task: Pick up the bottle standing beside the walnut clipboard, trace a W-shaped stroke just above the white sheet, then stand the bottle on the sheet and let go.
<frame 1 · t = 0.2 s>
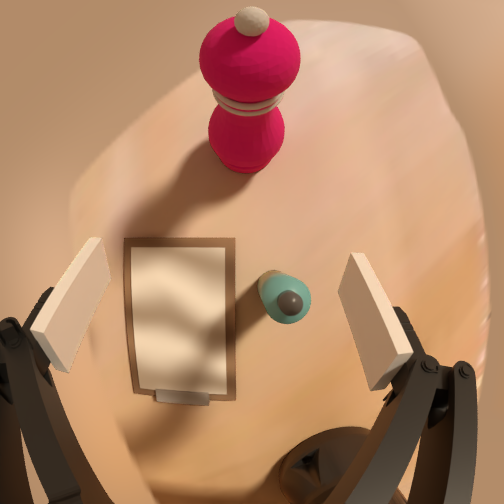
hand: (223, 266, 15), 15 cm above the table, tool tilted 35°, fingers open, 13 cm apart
pepper mill: (245, 147, 30), on the table
clipboard: (179, 322, 30), on the table
bottle: (273, 286, 30), on the table
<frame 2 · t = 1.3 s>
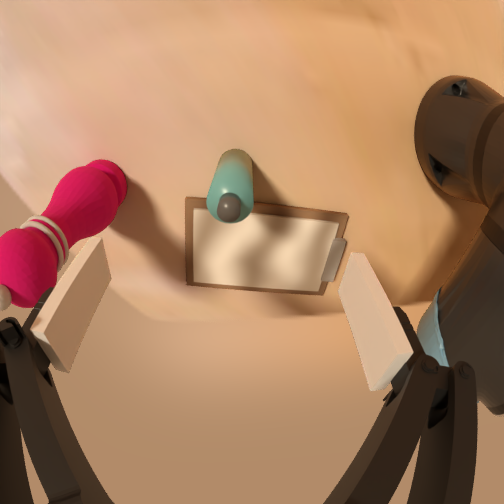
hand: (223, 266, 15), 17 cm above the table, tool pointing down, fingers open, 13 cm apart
pepper mill: (104, 184, 29), on the table
clipboard: (262, 249, 34), on the table
bottle: (235, 164, 28), on the table
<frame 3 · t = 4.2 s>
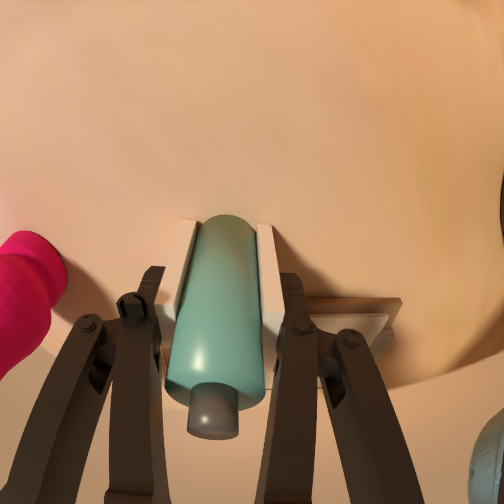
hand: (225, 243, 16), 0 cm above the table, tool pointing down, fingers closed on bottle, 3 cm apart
pepper mill: (37, 262, 17), on the table
clipboard: (274, 349, 22), on the table
bottle: (226, 241, 17), on the table, touching gripper
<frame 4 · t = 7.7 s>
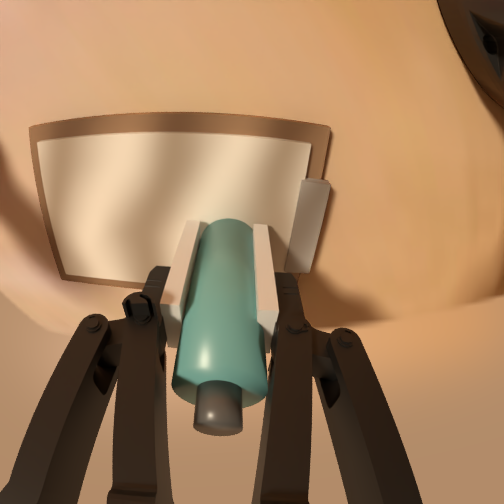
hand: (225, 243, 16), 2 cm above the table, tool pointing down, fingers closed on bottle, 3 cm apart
clipboard: (161, 211, 17), on the table
bottle: (228, 243, 17), point 1 cm above the table, touching clipboard, gripper
when the fingers open (1 cm above the table, at t = 11.0 s): bottle stays where it is, point 1 cm above the table.
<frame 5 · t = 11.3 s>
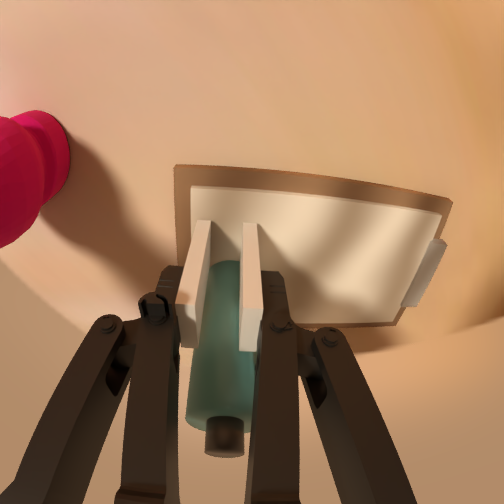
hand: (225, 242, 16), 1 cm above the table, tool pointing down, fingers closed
pepper mill: (37, 154, 14), on the table
clipboard: (315, 261, 19), on the table
bottle: (230, 281, 18), point 1 cm above the table
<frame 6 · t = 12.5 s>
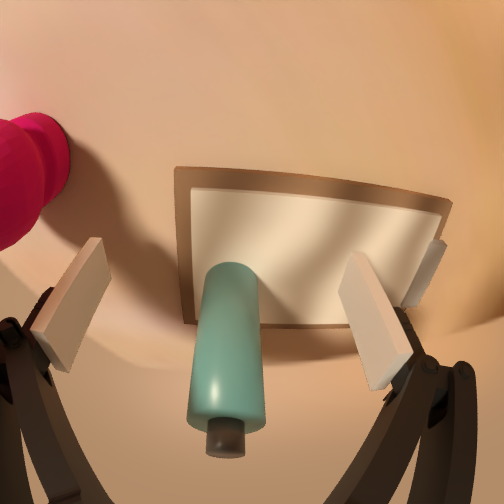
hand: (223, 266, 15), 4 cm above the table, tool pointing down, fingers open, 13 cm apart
pepper mill: (37, 156, 14), on the table
clipboard: (315, 263, 19), on the table
bottle: (230, 283, 19), point 1 cm above the table, touching clipboard
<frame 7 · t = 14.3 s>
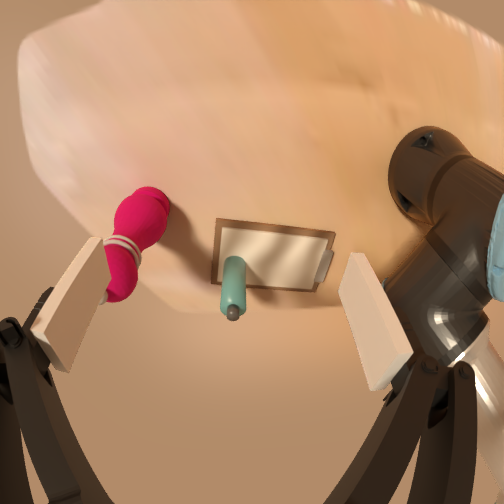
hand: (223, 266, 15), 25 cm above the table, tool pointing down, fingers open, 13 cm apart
pepper mill: (149, 205, 40), on the table
clipboard: (270, 257, 46), on the table
bottle: (234, 264, 45), point 1 cm above the table, touching clipboard
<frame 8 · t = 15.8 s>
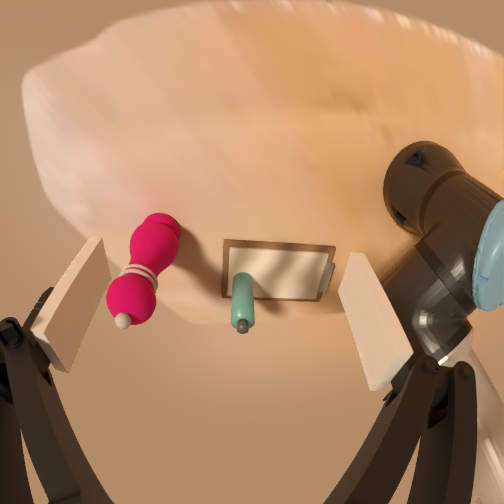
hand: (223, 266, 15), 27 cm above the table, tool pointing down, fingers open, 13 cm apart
pepper mill: (161, 229, 44), on the table
clipboard: (275, 272, 49), on the table
bottle: (242, 280, 48), point 1 cm above the table, touching clipboard
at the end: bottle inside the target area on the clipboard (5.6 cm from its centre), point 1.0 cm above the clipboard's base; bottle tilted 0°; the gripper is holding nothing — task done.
